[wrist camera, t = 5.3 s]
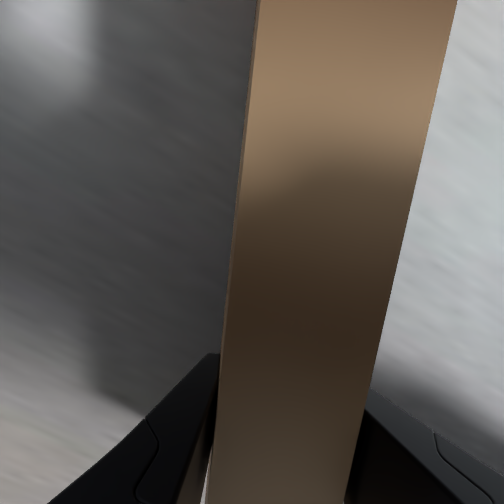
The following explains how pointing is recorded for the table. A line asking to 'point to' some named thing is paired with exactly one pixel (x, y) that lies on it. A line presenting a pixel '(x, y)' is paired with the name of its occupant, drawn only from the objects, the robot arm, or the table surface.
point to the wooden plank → (318, 236)
